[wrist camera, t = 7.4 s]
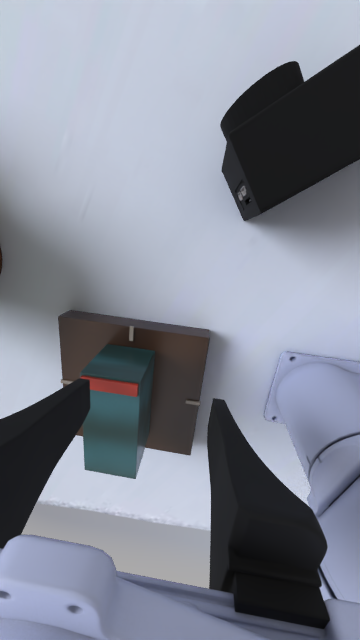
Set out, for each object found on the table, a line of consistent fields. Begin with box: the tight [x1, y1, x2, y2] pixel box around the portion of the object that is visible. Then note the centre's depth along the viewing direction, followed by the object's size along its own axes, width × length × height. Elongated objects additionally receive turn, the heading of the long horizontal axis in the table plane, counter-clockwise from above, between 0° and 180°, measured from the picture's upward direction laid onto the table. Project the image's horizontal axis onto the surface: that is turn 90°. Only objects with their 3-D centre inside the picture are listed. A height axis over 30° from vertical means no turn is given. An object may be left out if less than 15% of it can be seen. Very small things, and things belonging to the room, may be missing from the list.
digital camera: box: [220, 45, 360, 221], centre depth 14 cm, size 10×5×7 cm, turn 119°
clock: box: [58, 310, 210, 455], centre depth 25 cm, size 14×14×2 cm
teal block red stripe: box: [80, 344, 155, 479], centre depth 21 cm, size 10×5×5 cm, turn 174°
